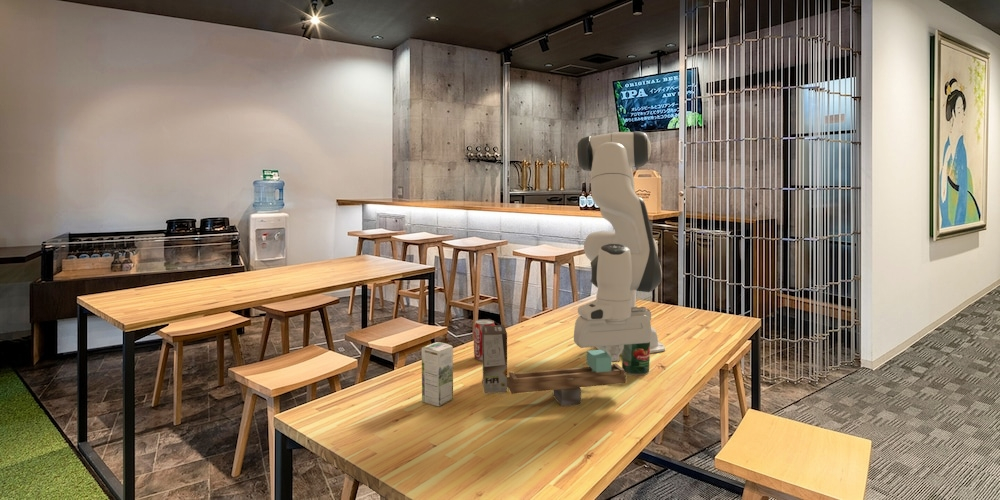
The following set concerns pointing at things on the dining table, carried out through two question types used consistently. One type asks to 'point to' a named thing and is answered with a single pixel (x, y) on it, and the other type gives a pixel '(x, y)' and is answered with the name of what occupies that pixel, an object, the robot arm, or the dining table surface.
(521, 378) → the beam
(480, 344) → the soda can
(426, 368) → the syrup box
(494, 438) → the dining table surface
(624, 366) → the canned tomato
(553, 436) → the dining table surface
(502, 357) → the coffee box
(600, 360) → the block
